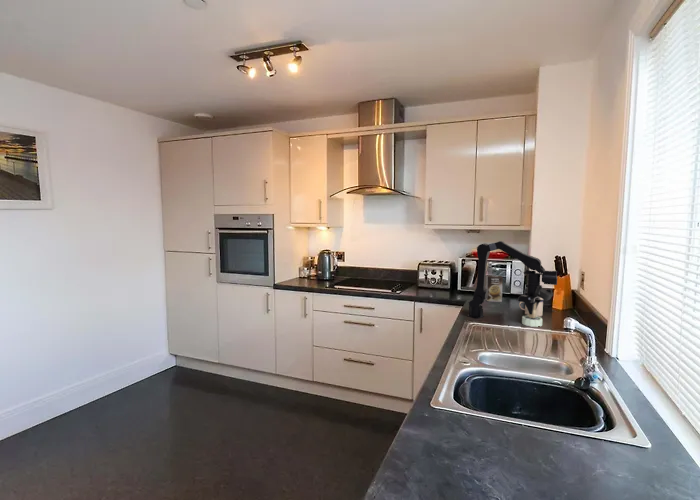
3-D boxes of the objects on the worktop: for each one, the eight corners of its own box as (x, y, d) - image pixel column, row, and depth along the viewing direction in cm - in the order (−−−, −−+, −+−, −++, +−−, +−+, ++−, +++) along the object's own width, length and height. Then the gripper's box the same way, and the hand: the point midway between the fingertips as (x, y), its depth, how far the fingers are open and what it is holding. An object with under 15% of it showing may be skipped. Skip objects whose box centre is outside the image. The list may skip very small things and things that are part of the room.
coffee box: (487, 301, 237) (487, 276, 236) (485, 299, 243) (485, 274, 242) (502, 302, 236) (503, 276, 234) (499, 299, 242) (500, 275, 240)
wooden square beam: (528, 317, 188) (529, 301, 187) (530, 316, 190) (531, 300, 189) (533, 318, 186) (534, 302, 185) (535, 317, 188) (536, 301, 187)
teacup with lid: (541, 313, 209) (542, 292, 207) (544, 317, 200) (545, 296, 199) (517, 311, 212) (518, 291, 211) (519, 315, 204) (520, 294, 203)
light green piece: (518, 323, 189) (519, 317, 189) (527, 320, 195) (527, 314, 194) (536, 327, 182) (537, 321, 182) (545, 324, 188) (545, 318, 187)
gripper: (541, 287, 174) (540, 320, 176) (558, 283, 186) (557, 313, 187) (518, 284, 183) (516, 315, 184) (536, 280, 195) (534, 309, 196)
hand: (532, 313), depth 188 cm, fingers closed on wooden square beam, 2 cm apart
